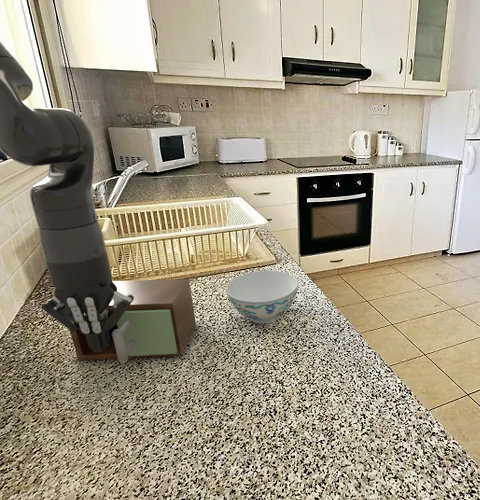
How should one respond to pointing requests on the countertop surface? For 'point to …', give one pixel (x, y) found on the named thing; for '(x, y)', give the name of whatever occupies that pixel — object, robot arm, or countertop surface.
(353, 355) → the countertop surface
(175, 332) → the cupboard
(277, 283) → the chinaware
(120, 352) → the slide door
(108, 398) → the countertop surface
